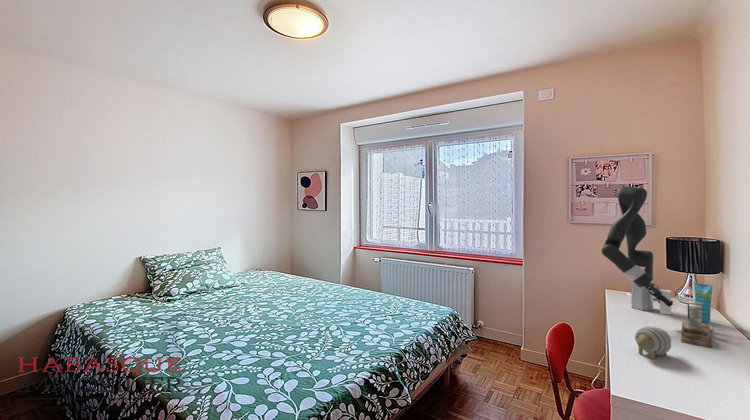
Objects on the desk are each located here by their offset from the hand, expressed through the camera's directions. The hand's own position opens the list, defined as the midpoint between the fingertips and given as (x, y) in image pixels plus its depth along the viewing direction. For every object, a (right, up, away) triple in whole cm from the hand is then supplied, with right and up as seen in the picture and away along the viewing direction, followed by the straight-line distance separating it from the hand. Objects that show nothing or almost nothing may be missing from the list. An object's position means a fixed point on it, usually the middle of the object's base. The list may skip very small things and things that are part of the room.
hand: (671, 304), depth 152 cm
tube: (+24, -11, +8) cm, 27 cm away
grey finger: (-1, -5, +1) cm, 5 cm away
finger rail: (+4, -12, -8) cm, 14 cm away
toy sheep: (-31, -13, -26) cm, 42 cm away
